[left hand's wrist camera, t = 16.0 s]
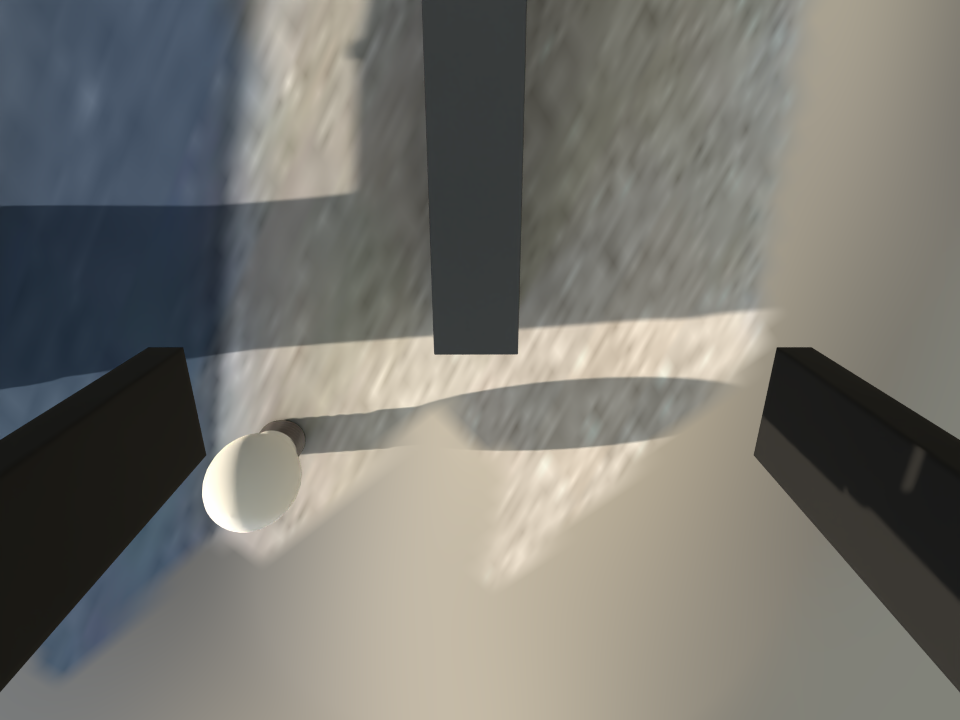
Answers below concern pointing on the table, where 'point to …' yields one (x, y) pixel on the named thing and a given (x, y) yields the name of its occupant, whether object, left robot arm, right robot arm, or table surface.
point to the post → (475, 170)
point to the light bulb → (255, 478)
